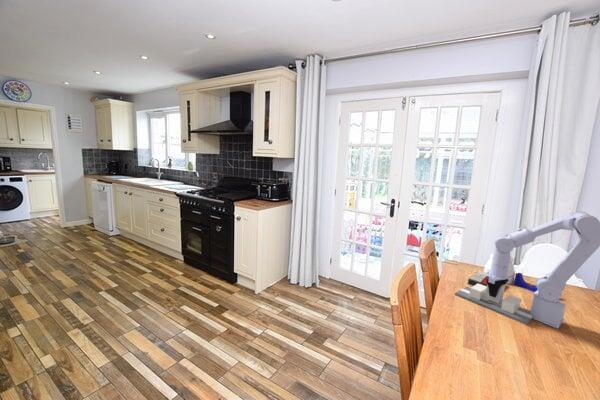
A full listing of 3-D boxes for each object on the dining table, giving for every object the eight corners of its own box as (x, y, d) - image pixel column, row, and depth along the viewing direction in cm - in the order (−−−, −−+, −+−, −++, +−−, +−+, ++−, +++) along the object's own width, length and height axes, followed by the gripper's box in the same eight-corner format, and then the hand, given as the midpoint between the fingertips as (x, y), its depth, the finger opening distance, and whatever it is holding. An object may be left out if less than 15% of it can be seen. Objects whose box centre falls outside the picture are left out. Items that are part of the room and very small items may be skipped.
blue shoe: (547, 294, 128) (550, 282, 127) (543, 295, 126) (545, 283, 125) (518, 283, 139) (520, 272, 138) (513, 284, 137) (515, 273, 136)
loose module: (502, 300, 115) (505, 284, 114) (498, 303, 112) (501, 287, 111) (488, 295, 119) (491, 280, 117) (484, 297, 116) (487, 282, 115)
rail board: (535, 315, 109) (536, 312, 109) (526, 324, 102) (527, 322, 102) (466, 288, 129) (466, 285, 129) (454, 294, 122) (455, 292, 122)
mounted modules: (519, 307, 111) (521, 299, 111) (513, 313, 107) (514, 304, 106) (476, 291, 124) (477, 283, 123) (469, 296, 119) (470, 287, 119)
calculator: (468, 277, 134) (478, 269, 143) (467, 285, 135) (477, 276, 144) (494, 286, 126) (503, 276, 135) (493, 294, 126) (502, 284, 136)
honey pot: (499, 284, 136) (505, 250, 133) (477, 273, 148) (483, 241, 146) (519, 283, 139) (526, 249, 136) (497, 272, 151) (502, 241, 148)
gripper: (495, 258, 120) (490, 286, 122) (482, 264, 112) (477, 295, 114) (514, 263, 115) (509, 293, 117) (502, 271, 106) (496, 303, 108)
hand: (494, 294), depth 115 cm, fingers closed on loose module, 4 cm apart
